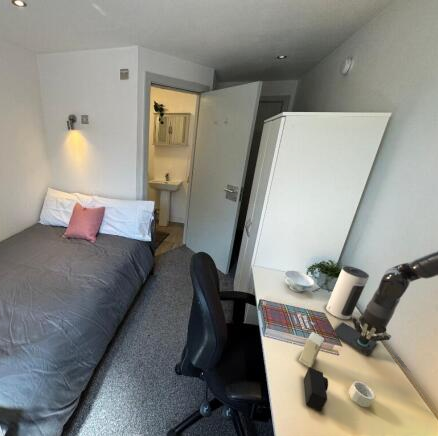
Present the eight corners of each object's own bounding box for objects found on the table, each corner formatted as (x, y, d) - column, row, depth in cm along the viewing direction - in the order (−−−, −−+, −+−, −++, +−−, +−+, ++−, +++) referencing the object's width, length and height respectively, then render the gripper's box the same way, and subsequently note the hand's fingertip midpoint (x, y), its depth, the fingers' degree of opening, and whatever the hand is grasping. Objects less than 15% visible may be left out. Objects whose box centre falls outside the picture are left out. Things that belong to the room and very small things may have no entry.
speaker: (332, 317, 118) (350, 275, 108) (321, 303, 127) (337, 263, 118) (355, 321, 116) (376, 278, 107) (342, 306, 126) (360, 266, 116)
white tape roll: (371, 402, 81) (377, 392, 79) (366, 412, 78) (371, 402, 76) (351, 387, 85) (356, 378, 83) (345, 396, 82) (350, 386, 80)
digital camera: (325, 414, 76) (332, 401, 74) (305, 405, 79) (312, 392, 76) (320, 386, 85) (327, 373, 82) (303, 379, 87) (309, 366, 85)
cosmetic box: (310, 369, 91) (320, 346, 87) (298, 360, 94) (307, 338, 90) (315, 359, 95) (325, 338, 91) (303, 352, 98) (312, 330, 94)
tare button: (367, 346, 100) (369, 344, 100) (365, 350, 98) (366, 347, 98) (357, 340, 103) (359, 338, 103) (354, 344, 101) (356, 341, 101)
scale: (376, 344, 104) (379, 339, 103) (366, 357, 97) (369, 352, 96) (341, 324, 114) (343, 319, 113) (330, 334, 107) (332, 330, 106)
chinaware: (276, 281, 145) (279, 271, 142) (296, 279, 147) (300, 269, 145) (294, 297, 131) (298, 286, 128) (316, 295, 134) (320, 284, 131)
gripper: (403, 319, 91) (385, 350, 97) (361, 299, 101) (347, 328, 107) (398, 326, 87) (379, 358, 93) (355, 305, 97) (341, 335, 103)
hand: (362, 342), depth 100 cm, fingers closed
